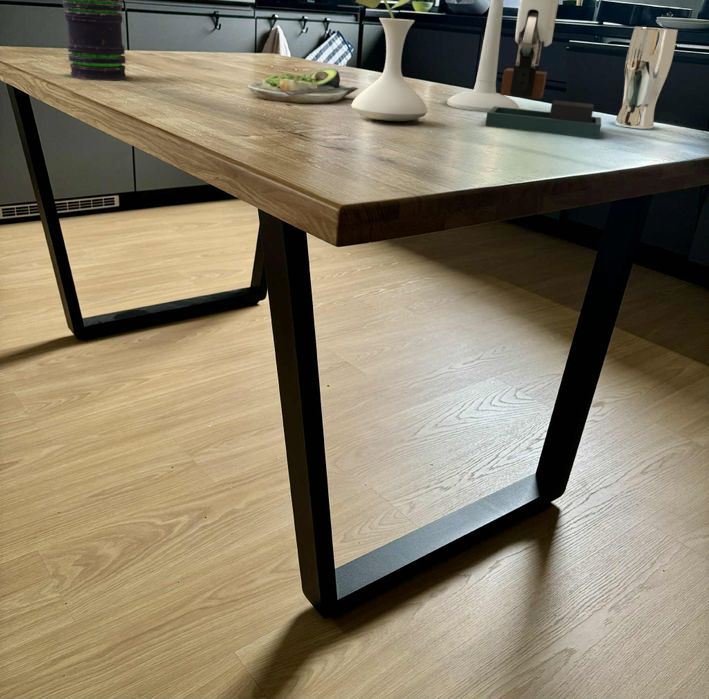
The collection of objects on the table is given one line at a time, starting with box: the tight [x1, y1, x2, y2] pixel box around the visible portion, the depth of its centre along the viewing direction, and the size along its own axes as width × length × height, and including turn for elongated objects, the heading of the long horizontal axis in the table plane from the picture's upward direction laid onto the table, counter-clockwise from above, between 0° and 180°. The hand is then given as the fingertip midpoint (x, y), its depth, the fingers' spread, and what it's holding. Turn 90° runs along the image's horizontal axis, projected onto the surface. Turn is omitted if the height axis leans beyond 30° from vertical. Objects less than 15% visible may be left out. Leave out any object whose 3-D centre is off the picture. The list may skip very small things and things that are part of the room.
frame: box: [484, 106, 602, 140], centre depth 110 cm, size 17×9×2 cm, turn 73°
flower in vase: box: [351, 0, 428, 122], centre depth 102 cm, size 13×11×25 cm
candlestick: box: [446, 0, 520, 113], centre depth 123 cm, size 13×13×30 cm
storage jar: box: [62, 0, 127, 81], centre depth 129 cm, size 10×10×15 cm
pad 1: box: [499, 67, 548, 100], centre depth 108 cm, size 6×5×4 cm
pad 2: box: [549, 99, 595, 123], centre depth 108 cm, size 6×5×4 cm
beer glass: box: [614, 26, 679, 130], centre depth 117 cm, size 7×7×15 cm
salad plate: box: [247, 68, 359, 104], centre depth 123 cm, size 19×18×5 cm
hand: (522, 92), depth 109 cm, fingers closed on pad 1, 5 cm apart
